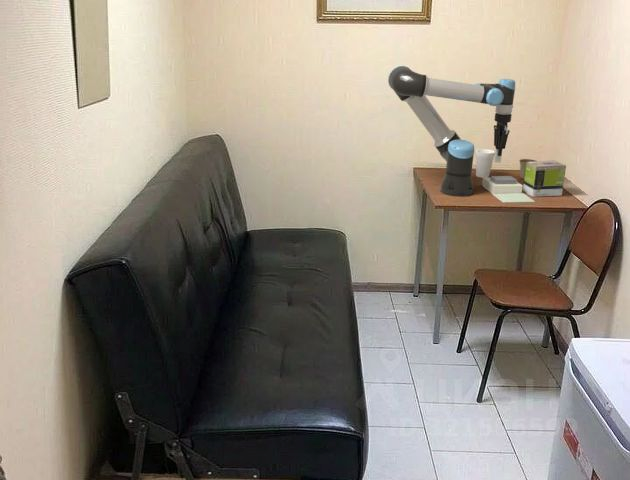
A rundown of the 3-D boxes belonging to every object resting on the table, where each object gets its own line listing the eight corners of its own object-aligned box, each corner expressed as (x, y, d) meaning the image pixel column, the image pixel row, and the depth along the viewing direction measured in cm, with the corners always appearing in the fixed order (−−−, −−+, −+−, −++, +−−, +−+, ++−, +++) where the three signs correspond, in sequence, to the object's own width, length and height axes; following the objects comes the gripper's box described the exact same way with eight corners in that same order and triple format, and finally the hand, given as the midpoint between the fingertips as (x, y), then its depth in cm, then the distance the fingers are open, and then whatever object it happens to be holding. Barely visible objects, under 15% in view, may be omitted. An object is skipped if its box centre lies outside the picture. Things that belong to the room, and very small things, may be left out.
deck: (493, 194, 295) (494, 186, 294) (481, 185, 308) (482, 177, 307) (521, 193, 297) (522, 185, 296) (509, 185, 310) (510, 177, 309)
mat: (503, 202, 283) (503, 202, 283) (492, 194, 295) (492, 193, 295) (535, 202, 285) (535, 201, 285) (523, 194, 297) (523, 193, 297)
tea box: (551, 190, 304) (556, 159, 299) (562, 196, 295) (567, 165, 290) (521, 190, 302) (526, 160, 297) (532, 197, 293) (536, 166, 287)
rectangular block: (496, 184, 296) (496, 180, 296) (490, 180, 303) (490, 176, 302) (516, 184, 298) (517, 180, 297) (510, 179, 304) (510, 175, 304)
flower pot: (534, 175, 328) (536, 159, 325) (537, 180, 319) (540, 164, 316) (515, 174, 329) (518, 158, 326) (518, 179, 320) (520, 162, 317)
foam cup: (472, 173, 330) (475, 148, 325) (490, 174, 329) (493, 149, 324) (474, 178, 321) (477, 152, 316) (492, 179, 320) (496, 153, 315)
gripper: (517, 115, 293) (510, 165, 301) (505, 110, 305) (499, 158, 313) (501, 115, 292) (495, 165, 300) (490, 110, 304) (484, 158, 312)
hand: (497, 161), depth 307 cm, fingers closed
